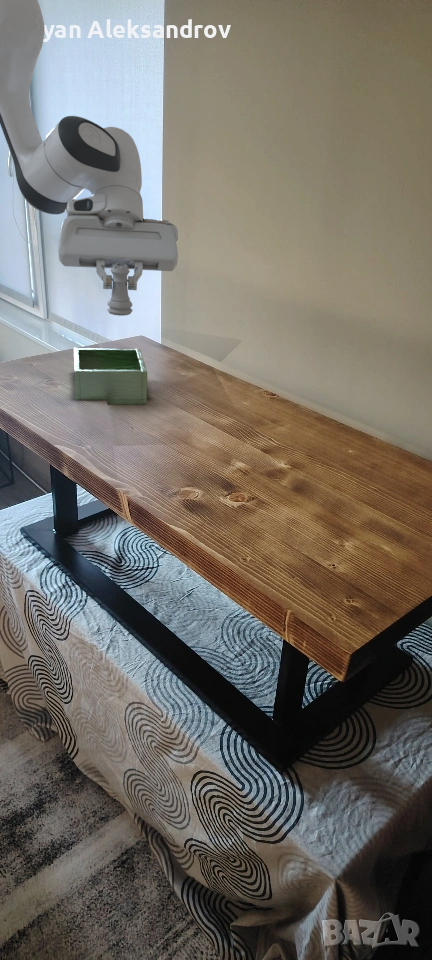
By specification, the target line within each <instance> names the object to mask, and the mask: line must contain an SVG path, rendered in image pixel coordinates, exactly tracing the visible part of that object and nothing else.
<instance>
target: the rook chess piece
mask: <svg viewBox="0 0 432 960" xmlns="http://www.w3.org/2000/svg"><path fill="white" fill-rule="evenodd" d="M109 272H111V274H112V289H111V295H110V297H109V299H108V301H107V303H106V305H107V306H108V307H107V308H106V311H107V312H108V313H109V314H110V315H113V316H119V317H120V316H122V317H123V316H129V315H131V314H132V312H133V311H134V310H133V308H132V307H133V302H132V301H131V298H130V296H129V290H128V276H129V273H130V272H131V270H130V269H128V265H126V264H124V266H123V264H121V263H120V266H118V263H115V264H112V268H110V270H109Z"/></svg>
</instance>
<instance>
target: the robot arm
mask: <svg viewBox="0 0 432 960" xmlns="http://www.w3.org/2000/svg"><path fill="white" fill-rule="evenodd" d="M45 28H46V27H45V22H44V16H43V13H42V9H41V6H40V3H39V0H0V128H1V130H2V133H3V135H4V139H5V141H6V144H7V146H8V149H9V152H10V155H11V158H12V161H13V165H14V172H15V179H16V182H17V185H18V189H19V191H20V193H21V195H22V196H23V198H24V200H25V201H26V202H27V203H28V204H29V205H30V206H31V207H33V208H34V209H35V210H37V211H40V212H41V213H44V214H48V215H61V214H63V213H65V218H64V219H63V221H62V222H61V225H60V232H59V237H58V249H57V250H58V261H59V262H60V263H61V265H62V266H64V267H69V268H70V267H73V268H74V267H75V268H95V270H96V274H97V275H98V277H99V278H100V280H101V281H102V289H103V290H112V288H113V281H112V278H113V274H112V275H110V274H107V272H106V270H105V269H112V264H115V263H118V266H120V263H121V264H123V266H124V264H126V265H128V269H129V270H133V275H127V279H128V282H127V289H128V291H137V289H138V281H139V280H140V278H141V277H142V276H143V271H157V272H158V271H159V272H172V271H174V270H175V269H176V267H177V266H178V265H177V264H178V262H179V261H178V260H179V251H178V245H177V241H178V239H179V233H178V232H179V231H178V227H177V225H175V224H174V223H172V222H170V221H169V220H166V219H153V218H144V209H143V208H144V203H143V197H142V195H141V189H142V185H143V178H142V177H143V175H142V164H141V158H140V153H139V150H138V147H137V145H136V143H135V140H134V139H133V137H132V136H131V135H130V133H128V132H127V131H125V130H124V129H123V128H119V127H116V126H106V127H102V126H100V125H99V124H98V123H95V122H94V121H91V120H90V119H88V118H84V117H81V116H77V115H67V116H64V117H62V118H61V120H60V121H58V123H57V124H56V125H55V126H54V127H53V128H52V129H51V130H50V132H49V133H48V134H47V135H46V136H45V138H44V139H42V136H41V134H40V131H39V128H38V124H37V123H36V122H37V121H36V119H35V117H34V114H33V110H32V108H31V101H30V90H31V85H32V83H31V82H32V79H33V75H34V72H35V68H36V65H37V61H38V59H39V56H40V53H41V51H42V48H43V45H44V39H45ZM84 190H87V191H89V192H90V193H91V196H88V197H83V198H80V199H76V198H78V196H79V195H80V194H81V193H83V191H84Z"/></svg>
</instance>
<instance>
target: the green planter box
mask: <svg viewBox="0 0 432 960" xmlns="http://www.w3.org/2000/svg"><path fill="white" fill-rule="evenodd" d="M73 362H74V363H73V366H74V369H73V370H74V399H75V400H81V401H82V400H83V401H84V400H86V401H89V400H91V401H93V400H98V401H99V400H106V404H107V405H108V406H109V405H111V406H113V405H114V406H115V405H126V406H127V405H130V406H131V405H133V406H134V405H147V397H148V396H147V395H148V392H147V391H148V369H147V366H146V363H145V360H144V357H143V353H142V351H141V349H140V348H102V347H101V348H100V347H99V348H98V347H95V348H94V347H93V348H92V347H91V348H90V347H73Z"/></svg>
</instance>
